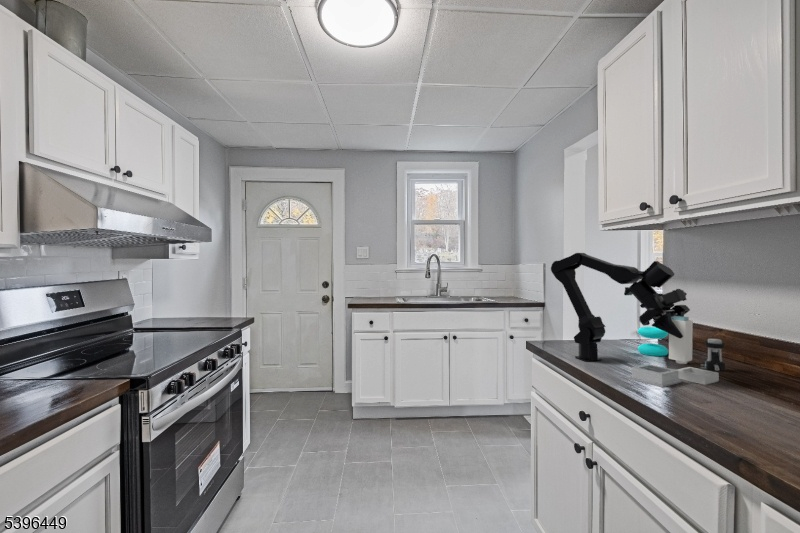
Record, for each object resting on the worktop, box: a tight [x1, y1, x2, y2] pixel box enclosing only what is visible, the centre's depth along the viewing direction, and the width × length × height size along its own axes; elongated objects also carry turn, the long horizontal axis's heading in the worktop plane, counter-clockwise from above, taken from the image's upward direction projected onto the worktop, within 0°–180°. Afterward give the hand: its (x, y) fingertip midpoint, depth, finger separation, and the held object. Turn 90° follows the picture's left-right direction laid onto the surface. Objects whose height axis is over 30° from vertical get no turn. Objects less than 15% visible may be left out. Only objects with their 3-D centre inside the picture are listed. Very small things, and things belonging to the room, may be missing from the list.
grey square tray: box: [676, 366, 720, 386], centre depth 121 cm, size 8×8×2 cm
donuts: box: [637, 326, 669, 357], centre depth 155 cm, size 10×10×10 cm
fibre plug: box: [668, 315, 694, 363], centre depth 121 cm, size 4×4×13 cm
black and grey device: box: [699, 338, 726, 372], centre depth 132 cm, size 7×5×10 cm
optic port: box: [628, 363, 683, 388], centre depth 120 cm, size 10×10×4 cm
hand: (685, 336), depth 120 cm, fingers closed on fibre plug, 4 cm apart
